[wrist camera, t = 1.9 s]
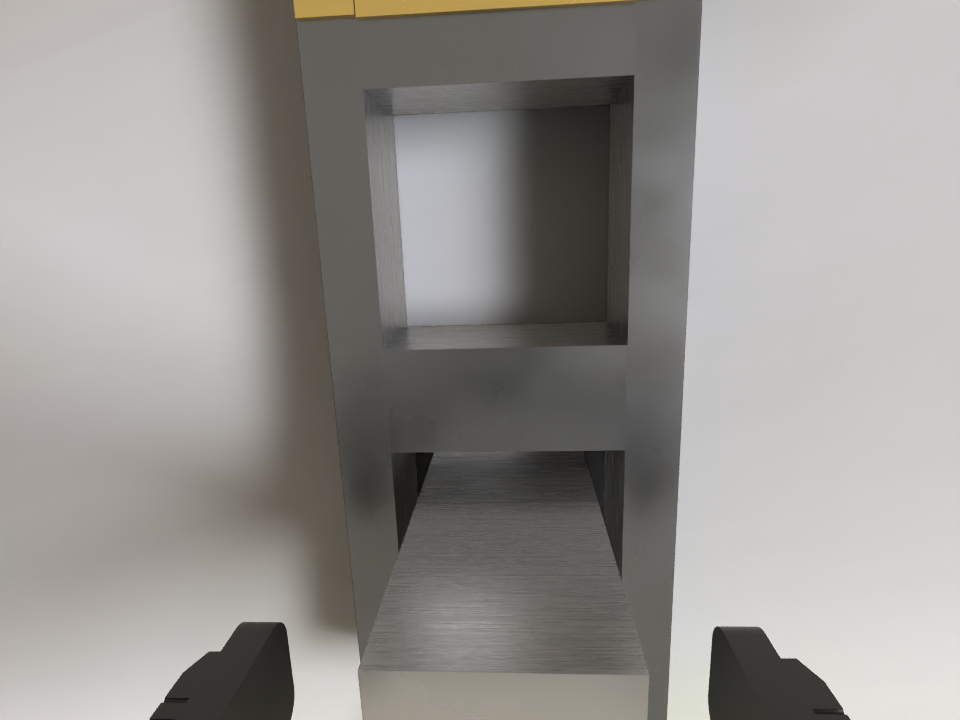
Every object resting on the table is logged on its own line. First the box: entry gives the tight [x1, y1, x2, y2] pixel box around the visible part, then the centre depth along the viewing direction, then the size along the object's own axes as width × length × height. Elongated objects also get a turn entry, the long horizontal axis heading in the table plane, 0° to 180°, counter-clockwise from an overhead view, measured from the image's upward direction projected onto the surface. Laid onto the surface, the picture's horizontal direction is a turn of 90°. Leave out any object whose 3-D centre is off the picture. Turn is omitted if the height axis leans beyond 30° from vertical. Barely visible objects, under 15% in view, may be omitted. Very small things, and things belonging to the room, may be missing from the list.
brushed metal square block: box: [358, 451, 649, 720], centre depth 13 cm, size 4×4×9 cm
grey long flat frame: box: [293, 0, 702, 720], centre depth 14 cm, size 8×26×3 cm, turn 2°
